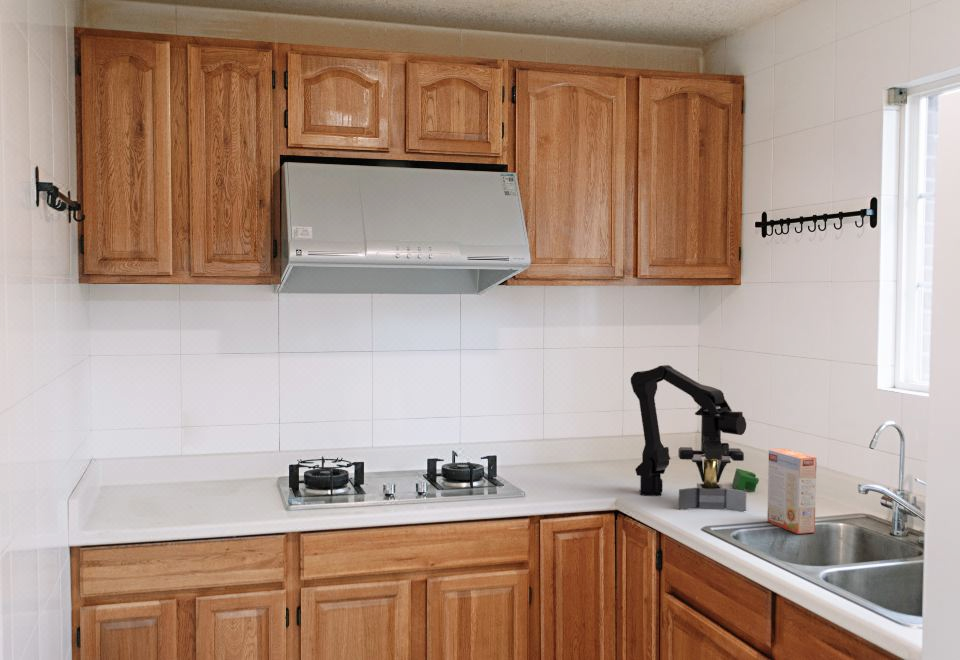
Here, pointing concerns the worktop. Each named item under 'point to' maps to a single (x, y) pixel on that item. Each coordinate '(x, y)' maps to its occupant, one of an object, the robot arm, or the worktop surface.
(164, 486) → the worktop surface
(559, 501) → the worktop surface
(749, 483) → the clamp
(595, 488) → the worktop surface
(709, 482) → the pin
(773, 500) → the cracker box
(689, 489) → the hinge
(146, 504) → the worktop surface
